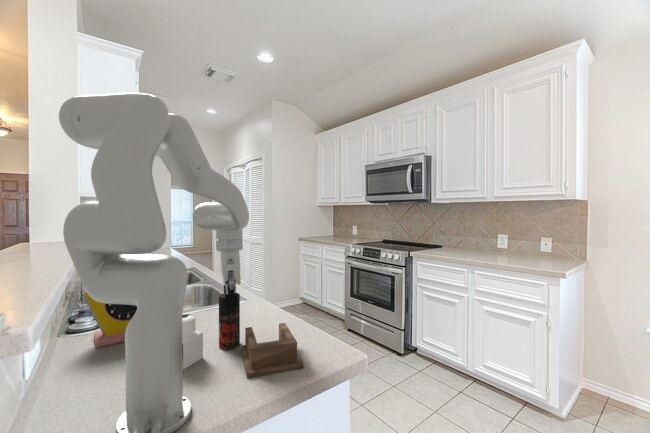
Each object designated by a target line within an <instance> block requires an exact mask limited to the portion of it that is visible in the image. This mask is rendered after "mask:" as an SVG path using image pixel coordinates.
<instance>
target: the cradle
mask: <svg viewBox="0 0 650 433" xmlns="http://www.w3.org/2000/svg"><path fill="white" fill-rule="evenodd" d="M244 331H245V336H244V338H245V339H244V340H245V344H243V345H240V350H241V356H242V361H243V366H244V370H245V375H246V379H250V378H257V377H262V376H268V375H273V374H277V373H284V372H291V371H294V370H301V369H304V362H303V360H302V358H301V357H300V355H299V354H298V341H297V340H296V338H295V335H293V333H292V331H291V330H290V328H289V327H288V325H287V324H286V322H282V323H278V340H272V341H271V340H270V341H264V342H257V339H256V336H255V333H254V329H253V327H252V326H248V327H245V328H244Z"/></svg>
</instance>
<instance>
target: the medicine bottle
mask: <svg viewBox="0 0 650 433" xmlns="http://www.w3.org/2000/svg"><path fill="white" fill-rule="evenodd" d="M203 358H204V333H203V331H197V330H196V316H195V315H192V314H187V313H186V314H185V313H184V314H182V371H184V370H185V369H187V368H189V367H190V366H192V365H194V364H195V363H197V362H199V361H200V360H202V359H203Z"/></svg>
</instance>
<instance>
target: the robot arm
mask: <svg viewBox="0 0 650 433" xmlns="http://www.w3.org/2000/svg"><path fill="white" fill-rule="evenodd" d="M58 120H59V124H60V126H61V128H62V130H63V132H64V133H65V135H67V137H68V138H70V139H71V141H74V142H75V143H76V144H78V145H80V146H83V147H86V148H89V149H94V150H97V152H95V156H94V159H93V161H92V164H91V169H90V176H91V177H90V178H91V180H90V181H91V184H92V187H93V190H94V194H95V197H96V200H91V201H86V202H82V203H80V204H77V205H76V206H75V207H73V208H72V209H71V210H70V211H69V212H68V214H67V215H66V217H65V220H64V223H63V230H62V231H63V232H62V233H63V234H62V235H63V240H64V241H63V242H64V244H65V246H66V249H67V252H68V254H69V257H70V258H71V261H72V263H73V266H74V268H75V270H76V272H77V275H78V278H79V279H80V282H81V284H82V286H83V288H84V290H86V292H87V293H88V294H89V296H90V297H91V298H92V299H94V300H96V301H98V302H101V303H107V304H122V305H135V306H137V311H136V313H135V314H134V316H133V317H132V319H131V320H130V322H129V324H128V326H127V328H126V332H125V342H124V349H125V351H124V360H125V362H124V363H125V364H124V366H125V368H124V369H125V370H124V371H125V376H124V377H125V411H124V412H123V413H122V414H121V415H120V416H119V418H118V419H117V421H116V423H115V433H174V432H176V431H177V430H179V428H181V427H182V426H183V425H184V424H185V423H186V422H187V421H188V420H189V417H191V416H190V415H191V414H192V403H191V401H190V399H189V398H188V397H185V395H183V394H184V392H183V389H184V388H183V387H184V386H183V384H184V383H183V381H184V380H183V374H184V373H183V370H182V315H184V314H183V311H184V302H185V301H184V300H185V295H186V290H187V286H188V280H189V278H188V276H189V273H188V268H187V266H186V264H185V263H184V262H183V261H182V260H181V259H179V258H177V257H176V256H173V255H168V254H160V253H159V254H158V253H155V252H157V251H158V250H160V249H161V248H162V247H163V246H164V244H165V243H166V240H167V227H166V224H165V219H164V217H163V216H164V215H163V212H162V208H161V205H160V200H159V197H158V194H157V190H156V186H155V181H154V177H153V166H154V165H153V164H154V161H155V158H156V157H158V158H160V160H161V162H163V164H164V166H165V168H166V169H167V172H169V174H170V176H171V178H172V179H173V181H174V182H175V184H176V185H177V186H178V188H180V189H182V190H184V191H187V192H188V193H190V194H193V195H196V196H199V197H204V198H206V199H209V200H212V201H215V202H211V201H210V202H209V201H207V202H203V203H199V204H198V205H197V206H195V208H194V209H193V212H192V221H193V224H194V225H195V226H196V227H197V228H198V229H200V230H204V231H215V251H216V252H220V271H221V273H220V274H221V279H222V284H223V294H224V293H226V294H225V307H226V308H233V307H237V293H238V292H237V285H241V283H242V282H241V280H242V279H241V258H240V254H241V253H240V251H243V249H244V248H243V246H244V244H243V240H244V239H243V229H245V228H246V227H247V226H248V223H249V221H250V214H249V212H250V211H249V208H248V205H247V202H246V200H245V198H244V195H243V193H242V192H241V190H240V189H239V187H238V186H237V185H235V184H234V183H233V182H231V180H229V179H228V178H227V177H225V176H224V175H222V174H221V173H219V172H217V171H215V169H213V168H212V166H211V164H210V162H209V160H208V158H207V156H206V154H205V152H204V151H203V148H202V146H201V144H200V142H199V140H198V138H197V136H196V134H195V131H194V129H193V128H192V125H191V124H190V123H189V121H188V120H187V119H186V118H185V117H184V116H182V115H179V114H175V113H170V112H169V109H168V106H167V105H166V103H165V102H164V101H163V100H162V99H161V98H160V97H158V96H155V95H153V94H150V93H142V92H121V93H120V92H119V93H118V92H116V93H105V94H86V95H77V96H73V97H70V98H69V99H67V100H65V101H64V102H62V104H61V106H60V108H59V112H58Z"/></svg>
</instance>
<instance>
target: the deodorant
mask: <svg viewBox="0 0 650 433" xmlns="http://www.w3.org/2000/svg"><path fill="white" fill-rule="evenodd" d="M236 293H237V307H233V308H226V307H225V294H226V293H224V292H223V293H221V294H219V295H218V348H219V349H220V350H223V351H230V350H231V351H232V350H235V349H237V348H239V347H240V346H241V340H240V339H241V337H240V336H241V332H240V331H241V327H240V326H241V323H240V322H241V320H240V319H241V311H240V310H241V309H240V308H241V307H240V306H241V304H240V300H241V297H240V295H241V294H240V293H238V292H236Z"/></svg>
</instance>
